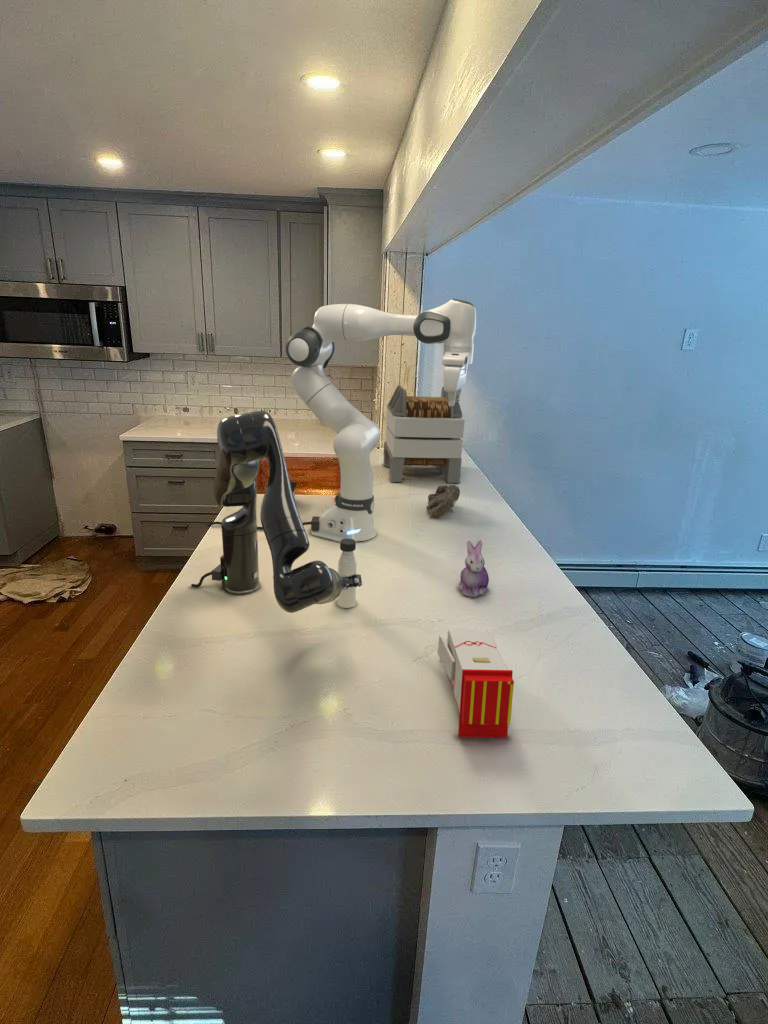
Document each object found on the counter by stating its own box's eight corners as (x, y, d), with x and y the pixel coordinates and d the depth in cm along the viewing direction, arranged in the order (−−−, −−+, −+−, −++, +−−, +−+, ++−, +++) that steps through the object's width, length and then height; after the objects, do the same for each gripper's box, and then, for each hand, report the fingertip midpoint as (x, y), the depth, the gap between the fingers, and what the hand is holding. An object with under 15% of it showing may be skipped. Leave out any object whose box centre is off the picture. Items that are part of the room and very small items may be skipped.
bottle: (353, 598, 154) (355, 538, 148) (356, 607, 150) (358, 546, 144) (336, 600, 153) (337, 539, 147) (339, 608, 149) (340, 546, 143)
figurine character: (293, 513, 218) (297, 497, 231) (292, 495, 215) (297, 480, 228) (275, 513, 218) (281, 496, 231) (274, 495, 214) (280, 479, 228)
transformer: (382, 463, 289) (386, 382, 275) (445, 464, 293) (451, 384, 279) (390, 482, 257) (394, 392, 243) (460, 483, 261) (468, 394, 247)
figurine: (470, 601, 155) (475, 551, 150) (449, 585, 164) (454, 537, 159) (497, 594, 160) (504, 545, 154) (476, 579, 168) (481, 532, 163)
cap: (354, 545, 148) (354, 538, 148) (356, 551, 145) (357, 544, 144) (338, 546, 147) (339, 538, 147) (341, 552, 144) (341, 544, 143)
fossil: (423, 490, 234) (453, 471, 229) (436, 508, 237) (466, 489, 232) (421, 514, 215) (454, 493, 210) (435, 532, 217) (468, 512, 212)
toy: (488, 613, 130) (523, 677, 101) (484, 667, 133) (517, 744, 104) (435, 612, 130) (455, 676, 101) (432, 666, 133) (451, 743, 103)
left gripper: (353, 561, 115) (361, 563, 131) (284, 571, 116) (301, 572, 132) (358, 598, 114) (366, 596, 130) (289, 608, 115) (305, 605, 131)
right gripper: (453, 354, 180) (449, 398, 185) (441, 358, 161) (437, 407, 166) (473, 355, 178) (468, 399, 183) (463, 360, 160) (459, 409, 164)
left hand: (333, 584), depth 131 cm, fingers open, 8 cm apart
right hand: (454, 403), depth 174 cm, fingers open, 8 cm apart
